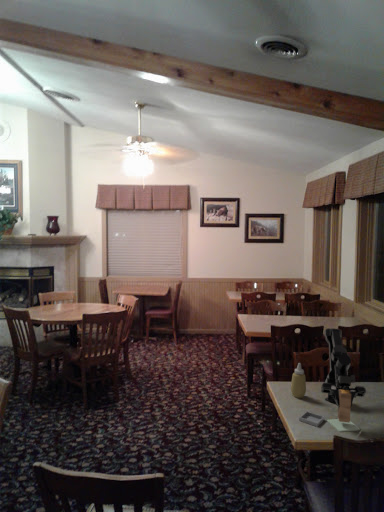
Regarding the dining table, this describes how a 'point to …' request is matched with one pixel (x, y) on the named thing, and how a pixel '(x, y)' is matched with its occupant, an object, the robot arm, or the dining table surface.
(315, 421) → the grey square tray
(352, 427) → the sage pad
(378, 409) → the dining table surface
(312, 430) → the dining table surface
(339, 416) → the walnut box
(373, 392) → the dining table surface
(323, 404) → the dining table surface
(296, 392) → the squeeze bottle
